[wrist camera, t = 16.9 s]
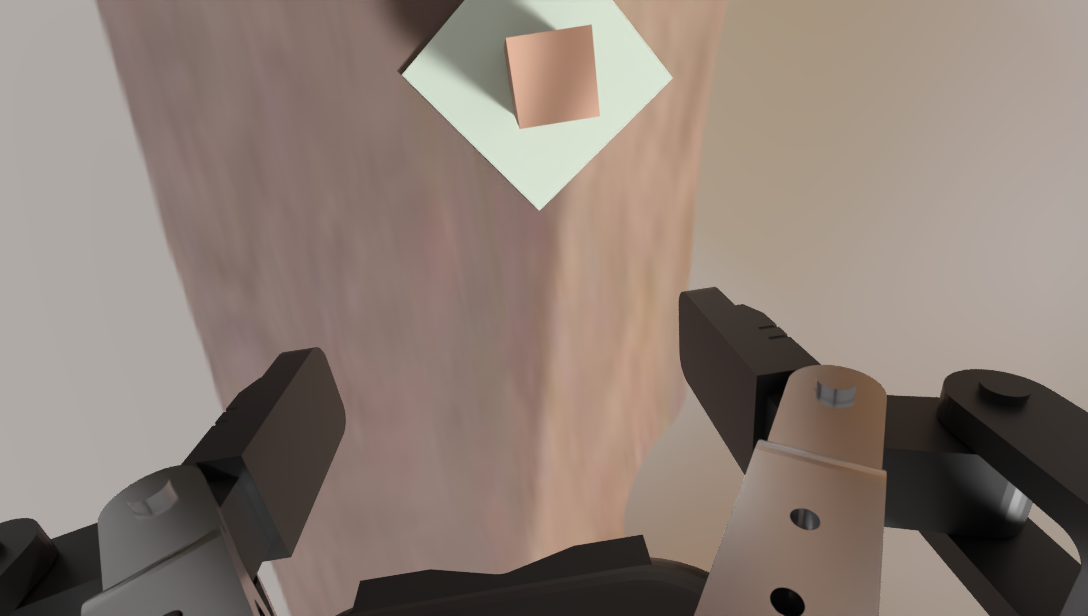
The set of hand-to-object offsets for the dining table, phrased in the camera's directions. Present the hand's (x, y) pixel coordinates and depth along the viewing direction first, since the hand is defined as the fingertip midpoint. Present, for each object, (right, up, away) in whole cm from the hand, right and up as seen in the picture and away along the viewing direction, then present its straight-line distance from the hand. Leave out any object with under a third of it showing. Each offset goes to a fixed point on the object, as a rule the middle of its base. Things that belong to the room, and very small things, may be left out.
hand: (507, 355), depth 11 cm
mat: (+1, +17, +23) cm, 29 cm away
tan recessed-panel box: (+1, +17, +23) cm, 28 cm away
